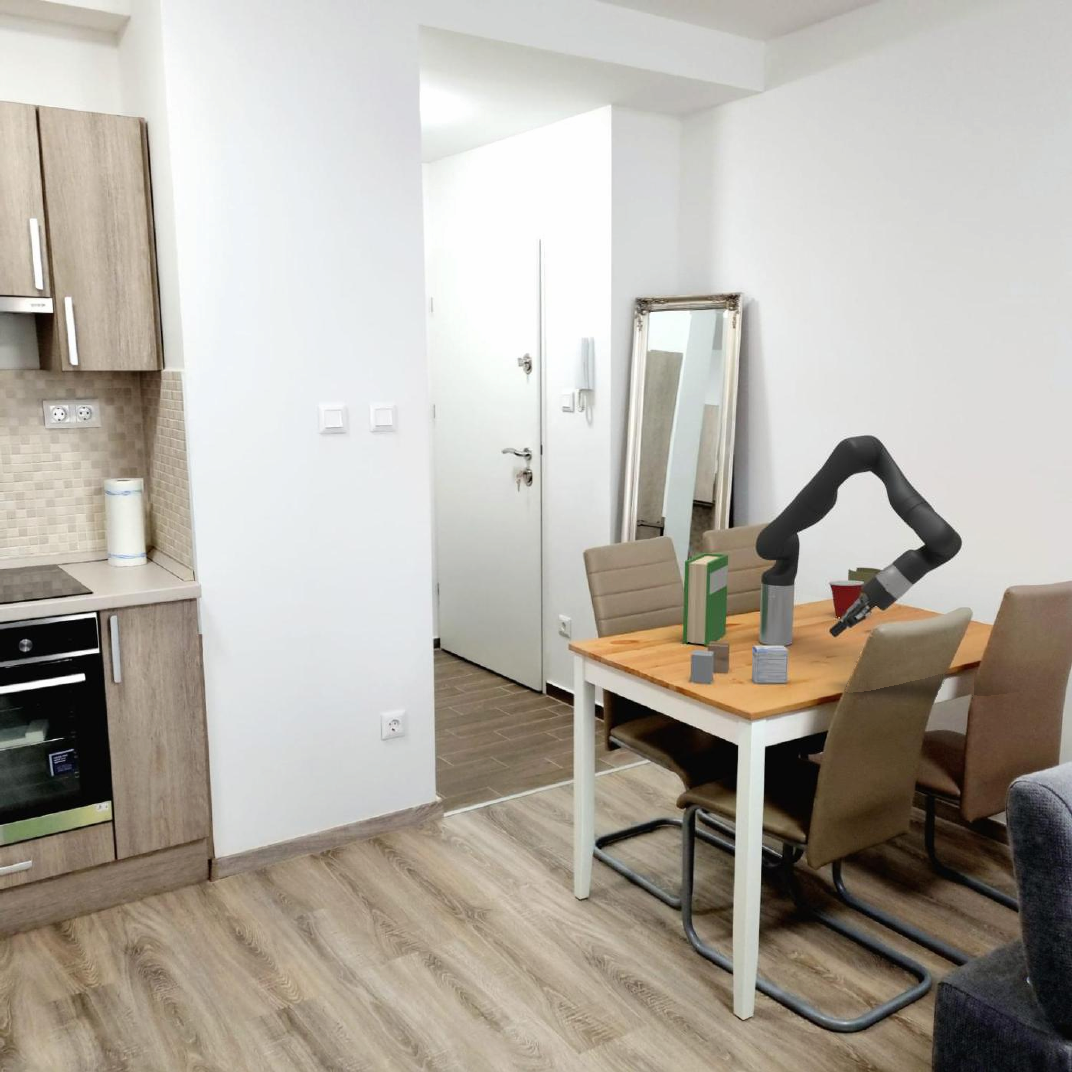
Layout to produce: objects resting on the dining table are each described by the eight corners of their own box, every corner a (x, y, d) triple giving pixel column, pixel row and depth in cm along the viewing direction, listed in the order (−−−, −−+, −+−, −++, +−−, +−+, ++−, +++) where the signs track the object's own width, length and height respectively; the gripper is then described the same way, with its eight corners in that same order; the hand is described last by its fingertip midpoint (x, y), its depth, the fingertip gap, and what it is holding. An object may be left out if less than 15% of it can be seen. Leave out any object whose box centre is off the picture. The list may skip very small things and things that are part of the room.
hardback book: (708, 647, 289) (710, 563, 286) (682, 644, 292) (685, 561, 289) (725, 634, 304) (728, 554, 301) (701, 632, 308) (703, 553, 305)
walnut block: (709, 667, 267) (710, 641, 266) (728, 668, 266) (729, 642, 265) (707, 672, 262) (708, 645, 261) (727, 673, 261) (728, 646, 260)
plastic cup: (843, 613, 337) (845, 577, 336) (869, 619, 328) (871, 582, 327) (819, 616, 332) (821, 579, 330) (845, 622, 323) (847, 585, 321)
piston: (842, 569, 351) (858, 566, 358) (840, 604, 352) (857, 600, 360) (873, 574, 343) (889, 570, 350) (871, 609, 344) (887, 604, 352)
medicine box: (782, 679, 256) (783, 645, 255) (787, 684, 252) (788, 649, 251) (751, 679, 256) (752, 645, 255) (755, 684, 251) (756, 649, 250)
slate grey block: (692, 677, 257) (693, 650, 256) (712, 678, 256) (713, 651, 255) (690, 682, 252) (691, 654, 252) (710, 684, 251) (711, 656, 250)
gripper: (874, 570, 250) (820, 617, 255) (878, 579, 238) (820, 628, 242) (896, 593, 250) (841, 639, 254) (901, 603, 237) (843, 651, 242)
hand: (831, 634), depth 248 cm, fingers closed
